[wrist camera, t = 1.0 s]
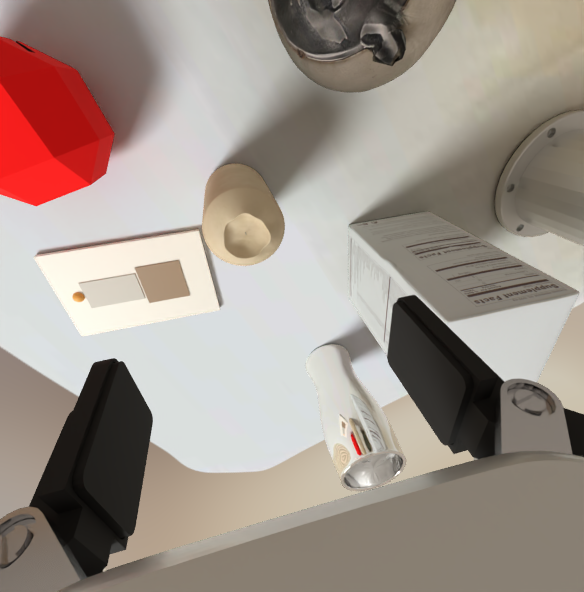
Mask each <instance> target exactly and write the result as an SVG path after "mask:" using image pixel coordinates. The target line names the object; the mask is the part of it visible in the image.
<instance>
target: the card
mask: <svg viewBox="0 0 584 592" xmlns="http://www.w3.org/2000/svg"><path fill="white" fill-rule="evenodd" d="M34 259H35V261H36V262H37V264H38V266H39V267H40V269H41V271H42V272H43V274H44V275H45V277H46V279H47V280H48V282H49V284H50V285H51V287H52V289H53V290H54V292H55V293H56V295H57V297H58V298H59V300H60V302H61V303H62V305H63V307H64V308H65V310H66V311H67V313H68V315H69V316H70V318H71V320H72V321H73V323H74V325H75V326H76V328H77V330H78V331H79V333H80V334H81V336H88V335H93V334H98V333H103V332H108V331H114V330H119V329H124V328H129V327H134V326H140V325H145V324H150V323H155V322H160V321H166V320H171V319H176V318H181V317H186V316H192V315H197V314H202V313H207V312H213V311H218V310H220V306H219V302H218V298H217V295H216V291H215V287H214V284H213V280H212V276H211V272H210V269H209V265H208V261H207V258H206V254H205V250H204V246H203V243H202V239H201V235H200V231H199V229H195V230H189V231H183V232H177V233H170V234H164V235H158V236H151V237H145V238H139V239H133V240H126V241H120V242H114V243H108V244H101V245H95V246H89V247H82V248H76V249H70V250H64V251H57V252H51V253H45V254H38V255H35V256H34Z"/></svg>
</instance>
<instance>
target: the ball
mask: <svg viewBox="0 0 584 592" xmlns="http://www.w3.org/2000/svg"><path fill="white" fill-rule="evenodd" d="M113 138H114V132H113V130H112V129H111V127H110V125H109V124H108V122H107V120H106V119H105V117H104V115H103V113H102V112H101V110H100V108H99V107H98V105H97V103H96V102H95V100H94V98H93V96H92V95H91V93H90V91H89V90H88V88H87V86H86V84H85V83H84V81H83V79H82V78H81V76H80V74H79V73H78V71H77V70H76V69H74V68H72V67H70V66H68V65H66V64H64V63H62V62H60V61H58V60H56V59H54V58H52V57H50V56H48V55H46V54H44V53H42V52H40V51H38V50H36V49H34V48H32V47H30V46H28V45H26V44H24V43H22V42H19V41H16V42H14V41H13V40H11V39H8V38H4V37H0V194H1V195H4V196H7V197H10V198H13V199H16V200H19V201H22V202H25V203H28V204H31V205H34V206H38V205H40V204H43V203H46V202H48V201H51V200H53V199H56V198H58V197H61V196H63V195H66V194H68V193H71V192H74V191H76V190H79V189H81V188H84V187H86V186H89V185H91V184H92V183H94V182H95V181H97V180H98V179H99V178H101V177H102V176H103V175H105V174H106V171H107V166H108V161H109V157H110V152H111V147H112V143H113Z"/></svg>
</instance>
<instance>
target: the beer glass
mask: <svg viewBox="0 0 584 592" xmlns="http://www.w3.org/2000/svg"><path fill="white" fill-rule="evenodd" d="M305 368H306V371H307V373H308V375H309V377H310V378H311V380H312V381H313V383H314V385H315V388H316V392H317V397H318V404H319V412H320V419H321V425H322V430H323V434H324V438H325V441H326V445H327V448H328V450H329V453H330V456H331V459H332V461H333V463H334V466H335V468H336V471H337V473H338V475H339V478H340V480H341V484H342V486H343V487H344V488H346V489H348V490H351V491H365V490H370V489H374V488H376V487H380V486H382V485H384V484H386V483H388V482H390V481H391V480H393V479H394V478H395V477H397V476H398V475H399V474H400V473H401V472H402V471H403V469H404V467H405V465H406V458H405V456H404V454H403V452H402V450H401V447H400V446H399V443H398V440H397V438H396V436H395V434H394V431H393V429H392V427H391V425H390V423H389V421H388V419H387V417H386V416H385V414H384V412H383V410H382V408H381V407H380V406H379V404H378V403H377V401H376V400H375V398H374V397H373V396H372V395H371V393H370V392H369V391H368V390H367V388H366V387H365V386H364V385H363V383H362V382H361V381H360V379H359V378H358V377H357V375H356V373H355V372H354V369H353V367H352V363H351V359H350V355H349V353H348V351H347V350H346V349H345V348H344V347H343V346H340V345H337V344H328V345H324V346H321V347H319V348H317V349H316V350H314V351H313V352H312V353H311V354H310V355H309V356H308V358H307V360H306V363H305Z"/></svg>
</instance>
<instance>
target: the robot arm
mask: <svg viewBox="0 0 584 592" xmlns="http://www.w3.org/2000/svg"><path fill="white" fill-rule="evenodd" d="M495 211H496V215H497V218H498V220H499V222H500V224H501V225H502V226H503V227H504V228H505V229H506V230H507V231H509V232H511V233H513V234H515V235H519V236H522V237H534V236H540V235H543V234H546V233H548V232H550V233H553V234H555V235H557V236H560V237H562V238H565V239H567V240H570V241H572V242H574V243H577V244H579V245H582V246H584V110H576V111H569V112H566V113H563V114H560V115H558V116H556V117H554V118H552V119H550V120H549V121H547V122H545V123H544V124H542V125H541V126H540V127H539V128H537V129H536V130H535V131H533V132H532V133H531V134H530V135H529V136H528V137H527V138H526V139H525V140H524V141H523V142H522V144H521V145H520V146H519V147H518V149H517V150H516V151H515V152H514V154H513V155H512V157H511V159H510V160H509V162H508V163H507V165H506V167H505V169H504V171H503V173H502V175H501V178H500V181H499V184H498V187H497V191H496V197H495ZM387 359H388V363H389V365H390V367H391V368H392V370H393V371H394V373H395V374H396V376H397V377H398V379H399V380H400V382H401V383H402V385H403V386H404V388H405V389H406V391H407V392H408V394H409V395H410V397H411V398H412V399H413V401H414V402H415V404H416V406H417V407H418V408H419V410H420V411H421V413H422V414H423V416H424V417H425V419H426V420H427V422H428V423H429V425H430V426H431V428H432V429H433V431H434V432H435V434H436V435H437V437H438V438H439V440H440V441H441V443H443V444H444V445H448V446H449V447H450V449H451V451H452V452H453V453H454V454H455V453H459V452H462V451H466V450H468V451H469V452H470V453H471V455H472V456H473V457H474V461H471V462H467V463H463V464H459V465H455V466H452V467H448V468H444V469H441V470H437V471H433V472H430V473H427V474H423V475H420V476H416V477H413V478H409V479H406V480H403V481H399V482H396V483H393V484H389V485H386V486H382V487H378V488H375V489H372V490H368V491H365V492H361V493H358V494H355V495H351V496H348V497H344V498H341V499H338V500H334V501H331V502H328V503H324V504H321V505H317V506H314V507H311V508H307V509H304V510H301V511H297V512H294V513H291V514H287V515H284V516H281V517H277V518H274V519H270V520H267V521H264V522H260V523H257V524H254V525H250V526H247V527H244V528H241V529H238V530H234V531H230V532H227V533H224V534H220V535H217V536H214V537H211V538H207V539H204V540H201V541H198V542H194V543H191V544H187V545H184V546H181V547H177V548H174V549H171V550H168V551H165V552H162V553H159V554H156V555H152V556H149V557H146V558H143V559H140V560H137V561H134V562H131V563H127V564H125V565H121V566H118V567H115V568H112V569H110V570H106V568H105V567H106V566H107V563H108V559H109V555H110V554H112V553H116V552H119V551H123V550H126V546H127V540H128V536H131V535H132V534H133V533H134V530H135V526H136V519H137V514H138V507H139V501H140V495H141V489H142V484H143V478H144V471H145V465H146V460H147V454H148V447H149V442H150V436H151V430H152V423H153V418H152V413H151V411H150V409H149V407H148V406H147V404H146V402H145V400H144V398H143V396H142V395H141V393H140V391H139V389H138V387H137V385H136V384H135V382H134V380H133V378H132V376H131V374H130V373H129V371H128V369H127V367H126V365H125V364H124V362H122V361H120V362H118V361H117V360H116V359H115V358H113V359H108V360H103V361H99V362H95V363H94V364H93V365H92V367H91V370H90V372H89V374H88V377H87V379H86V382H85V384H84V386H83V389H82V391H81V393H80V396H79V398H78V401H77V403H76V405H75V408H74V410H73V411H72V412H71V413H70V414H69V416H68V418H67V420H66V422H65V424H64V427H63V429H62V431H61V434H60V436H59V438H58V440H57V443H56V445H55V448H54V450H53V452H52V455H51V457H50V459H49V461H48V464H47V466H46V468H45V471H44V473H43V475H42V478H41V480H40V482H39V485H38V487H37V489H36V492H35V494H34V496H33V499H32V501H31V503H30V505H29V507H25V508H20V509H17V510H15V511H13V512H11V513H9V514H7V515H6V516H4V517H3V518H1V519H0V592H584V414H580V413H577V412H574V411H571V410H568V409H565V408H563V406H562V403H561V401H560V400H559V398H558V397H557V396H556V395H555V394H554V393H553V392H552V391H550V390H549V389H548V388H546V387H544V386H543V385H541V384H539V383H536V382H533V381H531V380H526V379H520V378H519V379H510V380H507V381H505V382H504V381H503V380H502V379H501V378H500V377H499V376H498V375H497V374H496V373H495V372H494V371H493V370H492V369H491V368H490V367H489V366H488V365H487V364H486V363H485V362H484V361H483V360H482V359H481V358H480V357H479V356H478V355H477V354H476V353H475V352H474V351H473V350H472V349H471V348H470V347H468V346H467V345H466V344H465V343H464V342H463V341H462V340H461V339H460V338H459V337H458V336H457V335H456V334H455V333H454V332H453V331H452V330H451V329H450V328H449V327H448V326H447V325H446V324H445V323H444V322H443V321H442V320H441V319H440V318H439V317H438V316H437V315H436V314H435V313H434V312H433V311H432V310H430V309H429V308H428V307H427V306H426V305H425V304H424V303H423V302H422V301H421V300H420V299H419V298H418V297H417V296H416V295H410V296H405V297H400V298H398V299H397V302H396V303H394V304H393V308H392V317H391V326H390V335H389V344H388V353H387Z"/></svg>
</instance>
